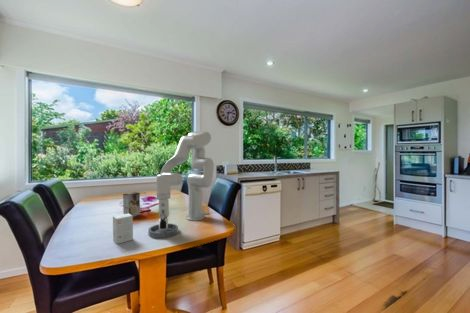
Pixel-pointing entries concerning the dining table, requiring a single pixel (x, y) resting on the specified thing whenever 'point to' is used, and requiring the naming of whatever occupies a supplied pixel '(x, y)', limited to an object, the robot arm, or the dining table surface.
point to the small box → (122, 228)
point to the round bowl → (171, 232)
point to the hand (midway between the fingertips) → (163, 225)
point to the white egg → (165, 228)
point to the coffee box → (131, 203)
